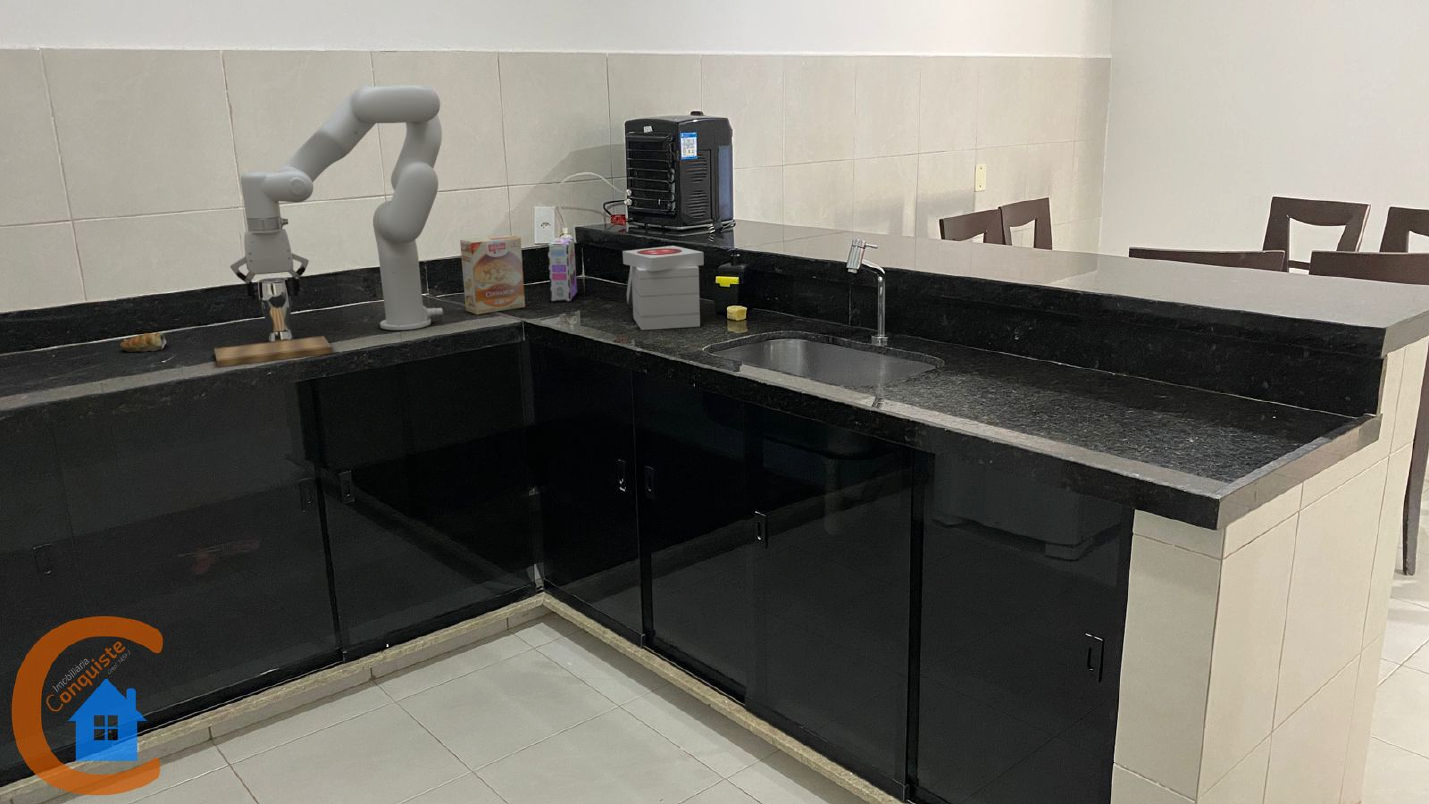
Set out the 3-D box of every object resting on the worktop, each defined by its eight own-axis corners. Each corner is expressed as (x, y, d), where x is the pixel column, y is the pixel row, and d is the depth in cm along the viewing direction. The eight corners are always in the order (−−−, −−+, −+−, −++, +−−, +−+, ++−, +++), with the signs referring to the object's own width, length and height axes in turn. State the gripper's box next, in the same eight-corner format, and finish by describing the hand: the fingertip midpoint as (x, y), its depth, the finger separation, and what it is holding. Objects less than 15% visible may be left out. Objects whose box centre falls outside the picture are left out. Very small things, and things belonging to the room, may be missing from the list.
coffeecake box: (476, 315, 274) (470, 242, 268) (465, 311, 279) (458, 239, 273) (526, 307, 283) (521, 236, 277) (514, 303, 288) (508, 234, 282)
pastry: (118, 354, 238) (115, 338, 237) (124, 348, 244) (122, 332, 243) (163, 350, 241) (160, 334, 240) (168, 344, 247) (165, 329, 246)
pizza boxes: (687, 304, 282) (685, 239, 277) (709, 327, 254) (707, 255, 249) (618, 308, 278) (615, 242, 273) (632, 332, 250) (629, 259, 245)
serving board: (324, 341, 246) (323, 335, 246) (332, 353, 235) (331, 346, 235) (215, 354, 236) (214, 348, 235) (218, 367, 225) (216, 360, 224)
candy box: (571, 301, 289) (567, 243, 284) (550, 302, 289) (546, 243, 284) (577, 292, 302) (574, 236, 297) (558, 292, 302) (554, 237, 297)
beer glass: (285, 344, 244) (276, 282, 240) (259, 343, 246) (250, 282, 242) (302, 337, 251) (294, 277, 247) (277, 337, 252) (268, 276, 248)
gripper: (301, 221, 247) (310, 291, 252) (223, 226, 240) (234, 298, 245) (305, 224, 241) (314, 296, 246) (225, 229, 233) (236, 303, 238)
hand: (274, 296), depth 245 cm, fingers open, 9 cm apart
